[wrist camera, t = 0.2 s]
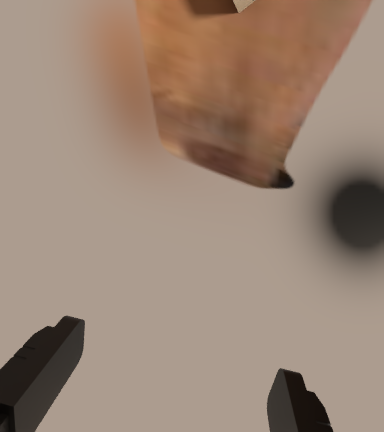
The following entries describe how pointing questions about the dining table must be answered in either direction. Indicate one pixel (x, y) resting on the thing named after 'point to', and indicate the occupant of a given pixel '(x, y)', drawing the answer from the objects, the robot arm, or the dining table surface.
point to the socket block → (242, 4)
